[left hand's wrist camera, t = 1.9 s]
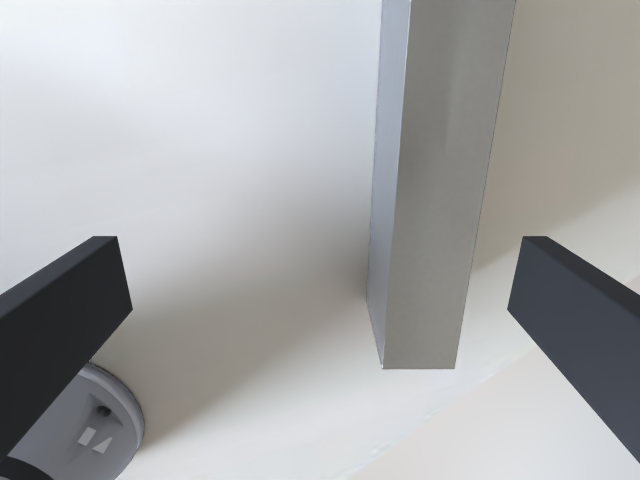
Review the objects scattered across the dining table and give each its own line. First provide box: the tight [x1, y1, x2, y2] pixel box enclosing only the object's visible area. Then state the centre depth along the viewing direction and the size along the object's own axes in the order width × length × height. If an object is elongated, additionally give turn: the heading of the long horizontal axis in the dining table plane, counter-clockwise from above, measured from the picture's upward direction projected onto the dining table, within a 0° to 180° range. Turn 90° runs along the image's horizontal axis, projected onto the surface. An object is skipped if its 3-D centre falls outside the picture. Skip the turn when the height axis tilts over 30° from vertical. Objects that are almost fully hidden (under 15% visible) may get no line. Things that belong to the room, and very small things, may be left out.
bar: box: [366, 0, 516, 369], centre depth 23 cm, size 28×5×9 cm, turn 0°
